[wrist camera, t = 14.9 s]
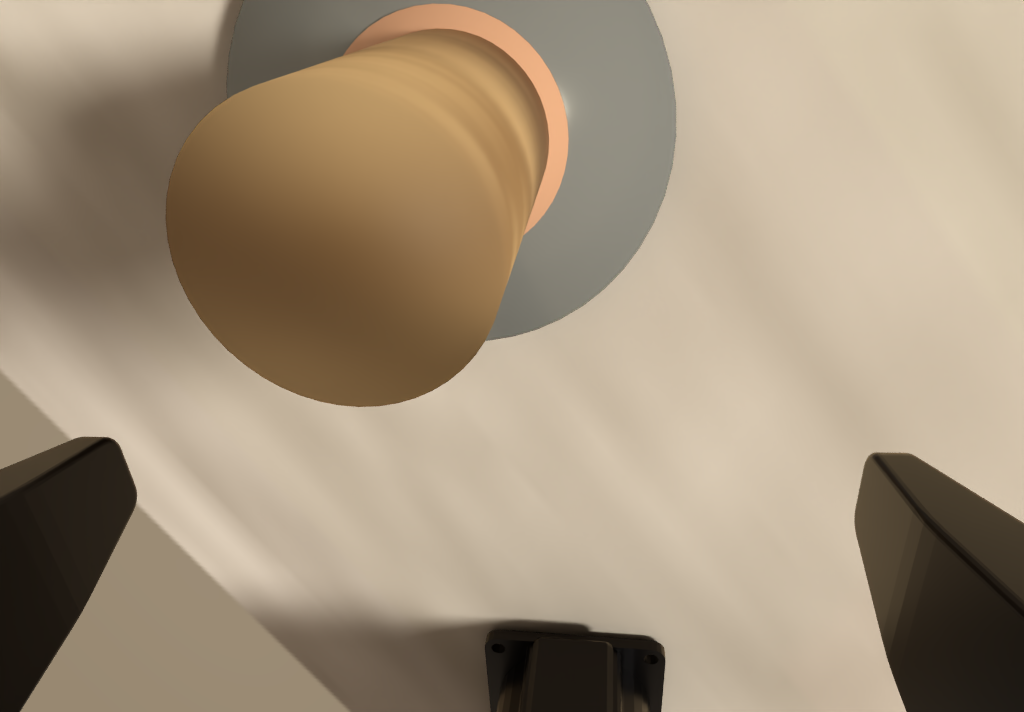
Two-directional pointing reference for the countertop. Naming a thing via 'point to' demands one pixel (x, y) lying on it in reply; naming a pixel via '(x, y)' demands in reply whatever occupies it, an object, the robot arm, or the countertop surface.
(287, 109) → the oak canister
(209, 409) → the countertop surface
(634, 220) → the coaster
